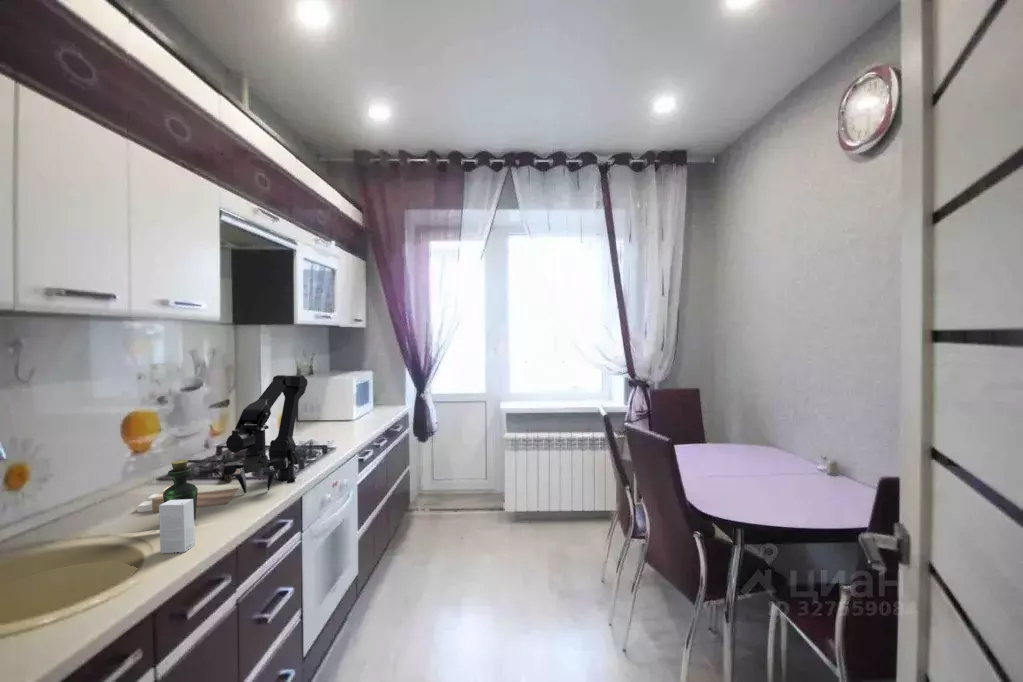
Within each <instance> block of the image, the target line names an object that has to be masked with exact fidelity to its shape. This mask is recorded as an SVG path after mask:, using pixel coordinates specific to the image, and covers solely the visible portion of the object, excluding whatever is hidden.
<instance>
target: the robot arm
mask: <svg viewBox="0 0 1023 682" xmlns="http://www.w3.org/2000/svg"><path fill="white" fill-rule="evenodd" d="M307 386H308V379H307V378H306V377H305V376H304V375H301V374H300V375H294V374H293V375H292V374H291V375H286V374H283V375H282V374H277V375H275V376H273V378H272V381H271V383H270V384H269V385H268V386H267V387H266V388H265V390H264V391H263V392H262V394H261V395H260V396H259V398H258V399H257V400H256V401H253V402H252V403H249V404H248V405H247V406H245V408H243V410H242V412H241V413H240V416H239V419H238V421H237V423H236V426H235V429H233V430H231V434H230V435H229V436H228V437H227V439H226V441H225V445H226V448H227V450H228V451H229V452H231V453H238V452H241V451H244V450H245V455H244V458H243V459H244V460H243V463H240V461H232V462H231V461H230V462H226V463H225V465H223V466H222V469H221V472H222V476H225V475H231V474H232V475H231V476H232V477H233V478H236V480H238V482H239V484H240V487H241V489H242V492H243V493H244V494H246V493H247V481H246V480H247V479H246V474H250V473H259V472H261V471H262V469H264V468H265V469H266V468H269V470H268V472H267V473H268V477H267V478H268V479H267V491H268V492H269V491H270V490H271V486H272V483H273V481H274V476H275V474H276V473H277V474H276V476H277V478H276V479H277V480H278V481H280V482H286V483H292V482H291V481H294V482H296V480H295V479H297V477H295V476H296V474H295V465H299V463H300V462H301V455H300V454H299V452H297V450H296V448H297V447H296V443H295V439H294V438H293V437H294V436H293V435H294V431H295V425H296V424H295V423H296V418H297V412H298V407H299V402H300V399H301V398H302V397H303V395H305V393H306V389H307ZM282 394H283V396H284V401H283V407H282V412H281V415H280V416H281V417H280V423H279V428H278V434H277V436H276V438H275V439H272V440H271V441H270V442H269V449H268V455H267V452H266V451H267V450H266V447H267V445H266V430H267V429H269V428H270V427H269V425H267V422H268V420H269V418H270V417H271V414H272V411H271V409H272V407H273V406H274V404H275V403H276V401H277V400H278V399H279V397H280V396H281V395H282Z"/></svg>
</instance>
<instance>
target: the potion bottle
mask: <svg viewBox="0 0 1023 682" xmlns="http://www.w3.org/2000/svg"><path fill="white" fill-rule="evenodd" d="M188 463H189V461H188V460H187V459H180V460H179V459H178V460H174V461H172V462H171V466H172V469H170V470H168V472H167V475H166V476H167V477H169V478H171V479H172V482H173V484H171V485H172V486H171V487H169V488H168V489H166V490H165V491H164V493H163V500H164V503H165V502H167V501H169V500H184V499H193V507H194V521H195V520H196V517H197V508H196V505H197V493H199V492H198V491H199V489H198V487H197V486H196V485H195V484H193V483H190V482H187V481H188V477H189V475H191V474H192V473H193V470H192V467H187V466H188Z"/></svg>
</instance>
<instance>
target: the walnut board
mask: <svg viewBox="0 0 1023 682" xmlns="http://www.w3.org/2000/svg"><path fill="white" fill-rule="evenodd" d="M238 490H239V488H231V489H229V488H228V489H222V490H221V489H220V490H211V491H201V492H197V505H196V509H197V508H203V507H204V508H205V507H213V506H215V507H216V506H223V505H228V504H229V502H230V501H231V500H232V498H233V497H234V496H235V494H236V493H237V492H238Z"/></svg>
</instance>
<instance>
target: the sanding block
mask: <svg viewBox="0 0 1023 682" xmlns="http://www.w3.org/2000/svg"><path fill="white" fill-rule="evenodd" d="M172 485H173V484H171V485H168V486H166V487H165V488H164V489H163V490H161V492H159V493H157V494H158V495H157V496H156V497H155V498H153V499H152V511H151V512H152V513H154V512H159V505H161V504H163V503H164V500H163V493H164V491H165V490H166V489H168V488H169V487H171V486H172Z"/></svg>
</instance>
